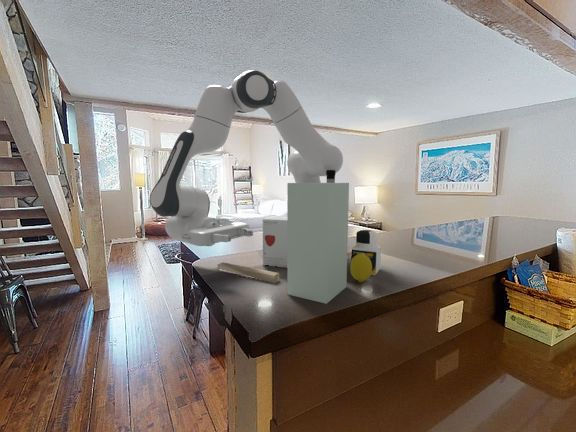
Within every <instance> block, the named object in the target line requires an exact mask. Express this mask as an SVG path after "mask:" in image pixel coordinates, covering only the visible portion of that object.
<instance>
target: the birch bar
mask: <svg viewBox="0 0 576 432" xmlns="http://www.w3.org/2000/svg"><path fill="white" fill-rule="evenodd" d="M218 269H222V270H226V271H231V272H236V273H239V274H243V275H247V276H251V277H254V278H257V279H261V280H260V281H262V280H265V281H264V282H266V281H268V282H267V283H271V282H272V283H271V284H275V283H277V282H279V281H280V272H275V271H269V270H264V269H260V268H255V267H248V266H244V265H239V264H234V263H233V264H232V263H228V262H220V263H218V264H217V270H218ZM257 279H256V280H257Z"/></svg>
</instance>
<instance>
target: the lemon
mask: <svg viewBox="0 0 576 432" xmlns="http://www.w3.org/2000/svg"><path fill="white" fill-rule="evenodd" d="M349 268H350V269H349V271H350V274H351V276H352V277H353V279H355V280H356V281H358V282H359V283H363V282H364V281H367V280H368V279H369V278H370V277H371V276H372V275H371V272H372V263H371V260H370V259H369V257H368V256H366V255H364V254H363V253H360V254H357V255H355V256H354V257H353V259H352V261H351V262H350V265H349Z"/></svg>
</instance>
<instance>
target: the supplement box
mask: <svg viewBox="0 0 576 432" xmlns="http://www.w3.org/2000/svg"><path fill="white" fill-rule="evenodd" d="M265 265H269V266H268V267H275V266H277V268H285V269H286V268H287V216H285V215H284V216H283V215H282V216H281V215H270V216H268V217H264V218H262V266H265Z"/></svg>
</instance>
